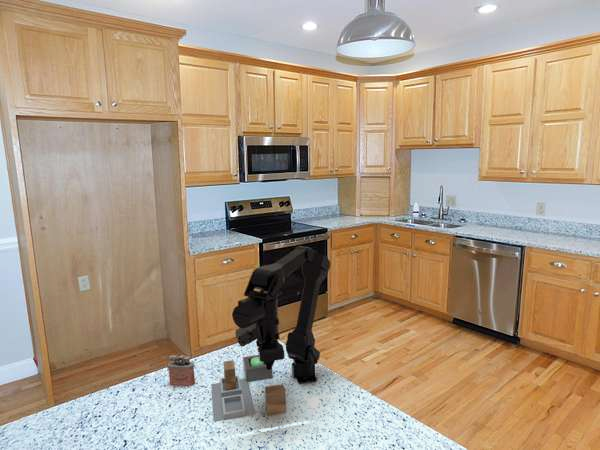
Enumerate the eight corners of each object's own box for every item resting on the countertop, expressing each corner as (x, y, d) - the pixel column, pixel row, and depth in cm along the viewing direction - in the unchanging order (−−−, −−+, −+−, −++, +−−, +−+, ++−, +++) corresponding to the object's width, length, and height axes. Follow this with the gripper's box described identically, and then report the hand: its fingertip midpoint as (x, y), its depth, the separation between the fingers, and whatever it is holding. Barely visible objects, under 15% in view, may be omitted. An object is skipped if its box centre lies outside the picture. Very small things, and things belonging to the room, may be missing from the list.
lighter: (197, 383, 121) (195, 353, 120) (193, 390, 118) (190, 359, 116) (172, 382, 122) (169, 353, 121) (167, 389, 119) (164, 358, 117)
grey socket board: (247, 381, 122) (247, 373, 122) (255, 417, 105) (255, 409, 104) (211, 387, 119) (210, 379, 119) (213, 425, 102) (213, 416, 102)
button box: (268, 367, 130) (267, 353, 129) (272, 380, 122) (271, 365, 121) (243, 371, 128) (243, 357, 127) (246, 384, 120) (245, 369, 119)
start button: (262, 366, 127) (262, 356, 126) (264, 372, 123) (264, 362, 122) (250, 368, 126) (249, 357, 125) (252, 374, 122) (251, 364, 121)
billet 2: (266, 412, 107) (264, 387, 106) (283, 408, 108) (283, 384, 107) (267, 419, 104) (266, 393, 103) (286, 415, 105) (285, 390, 104)
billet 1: (234, 382, 119) (233, 360, 118) (236, 392, 115) (235, 368, 113) (224, 384, 119) (223, 361, 117) (226, 394, 114) (224, 370, 113)
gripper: (235, 305, 112) (237, 356, 115) (238, 332, 94) (240, 392, 97) (273, 301, 115) (275, 351, 117) (284, 327, 97) (285, 386, 99)
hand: (268, 369), depth 107 cm, fingers closed
